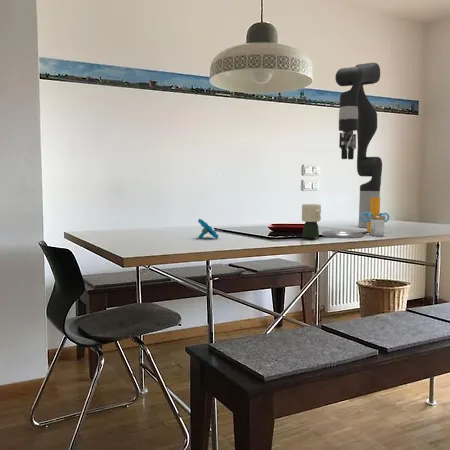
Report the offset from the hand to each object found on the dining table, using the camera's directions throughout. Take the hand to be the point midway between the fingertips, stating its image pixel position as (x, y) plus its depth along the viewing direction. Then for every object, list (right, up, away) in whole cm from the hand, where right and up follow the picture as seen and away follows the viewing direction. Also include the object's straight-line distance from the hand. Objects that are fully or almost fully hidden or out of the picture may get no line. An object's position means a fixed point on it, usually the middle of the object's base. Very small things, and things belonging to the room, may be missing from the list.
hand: (347, 159), depth 201 cm
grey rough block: (+11, -31, -2) cm, 33 cm away
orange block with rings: (+14, -30, +12) cm, 35 cm away
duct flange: (-3, -31, -2) cm, 31 cm away
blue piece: (-56, -32, -14) cm, 66 cm away
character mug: (-17, -32, -13) cm, 39 cm away
